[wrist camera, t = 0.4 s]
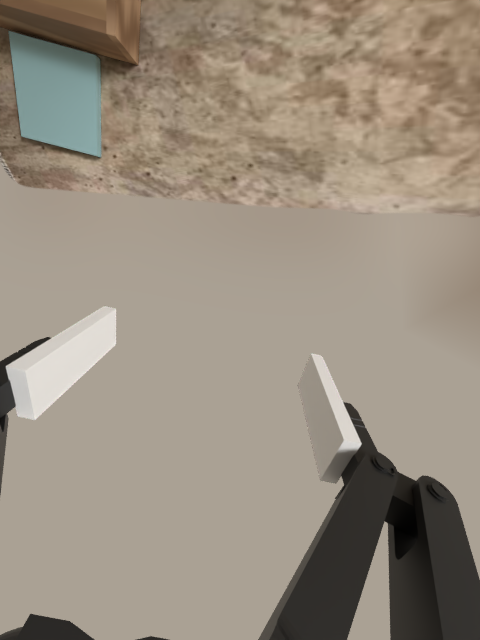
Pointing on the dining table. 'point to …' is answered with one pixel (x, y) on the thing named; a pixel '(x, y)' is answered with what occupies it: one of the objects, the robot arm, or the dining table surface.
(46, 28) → the wooden tray
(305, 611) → the robot arm
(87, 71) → the pad
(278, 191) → the dining table surface
